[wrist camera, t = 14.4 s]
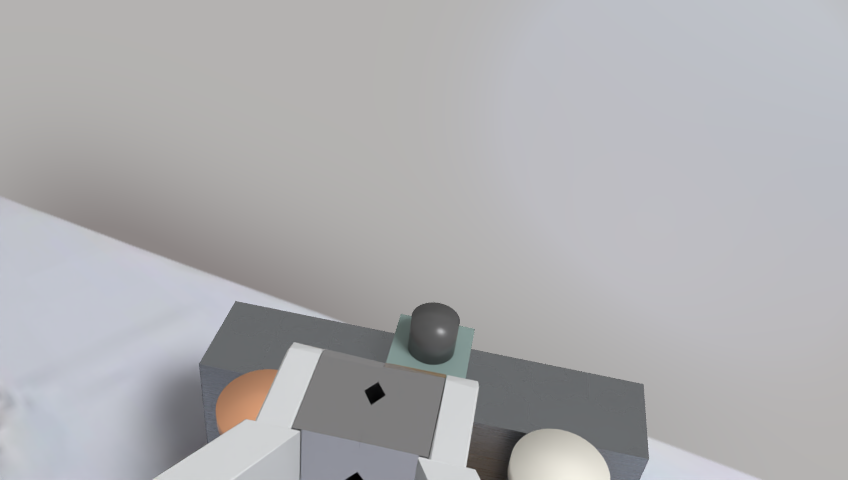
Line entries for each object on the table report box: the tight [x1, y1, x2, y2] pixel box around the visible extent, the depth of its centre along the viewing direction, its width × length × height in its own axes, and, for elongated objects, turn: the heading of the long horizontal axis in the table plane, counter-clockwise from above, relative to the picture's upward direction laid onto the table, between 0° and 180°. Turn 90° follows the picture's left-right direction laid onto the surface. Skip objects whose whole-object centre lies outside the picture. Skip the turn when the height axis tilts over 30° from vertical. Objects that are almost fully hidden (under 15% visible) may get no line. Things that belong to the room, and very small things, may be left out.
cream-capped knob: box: [507, 429, 610, 480], centre depth 41 cm, size 5×12×11 cm, turn 170°
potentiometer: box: [386, 303, 475, 392], centre depth 39 cm, size 4×4×4 cm
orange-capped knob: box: [216, 369, 278, 435], centre depth 42 cm, size 5×12×11 cm, turn 170°
